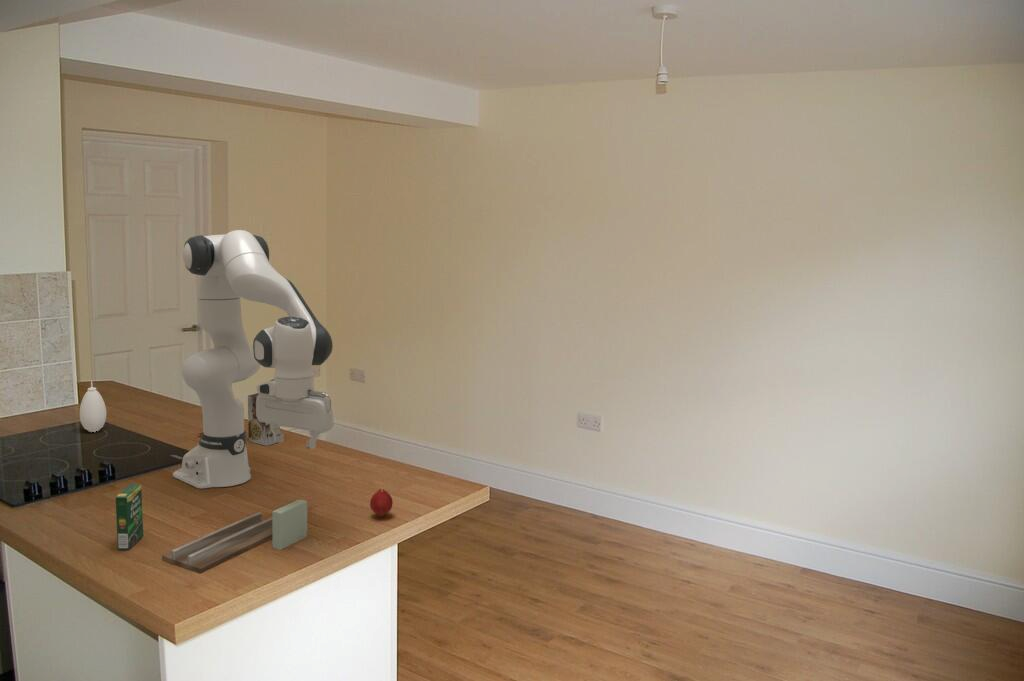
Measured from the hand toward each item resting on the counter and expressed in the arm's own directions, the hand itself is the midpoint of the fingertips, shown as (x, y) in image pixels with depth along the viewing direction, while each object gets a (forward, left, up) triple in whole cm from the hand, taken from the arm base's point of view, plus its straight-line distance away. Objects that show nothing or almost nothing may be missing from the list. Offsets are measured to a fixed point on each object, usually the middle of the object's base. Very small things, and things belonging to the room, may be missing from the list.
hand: (295, 445), depth 178 cm
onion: (+8, +23, -24) cm, 34 cm away
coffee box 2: (-31, -21, -24) cm, 44 cm away
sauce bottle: (-117, +30, -24) cm, 123 cm away
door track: (-12, -10, -24) cm, 28 cm away
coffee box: (-63, +54, -24) cm, 86 cm away
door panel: (-1, -1, -24) cm, 24 cm away
